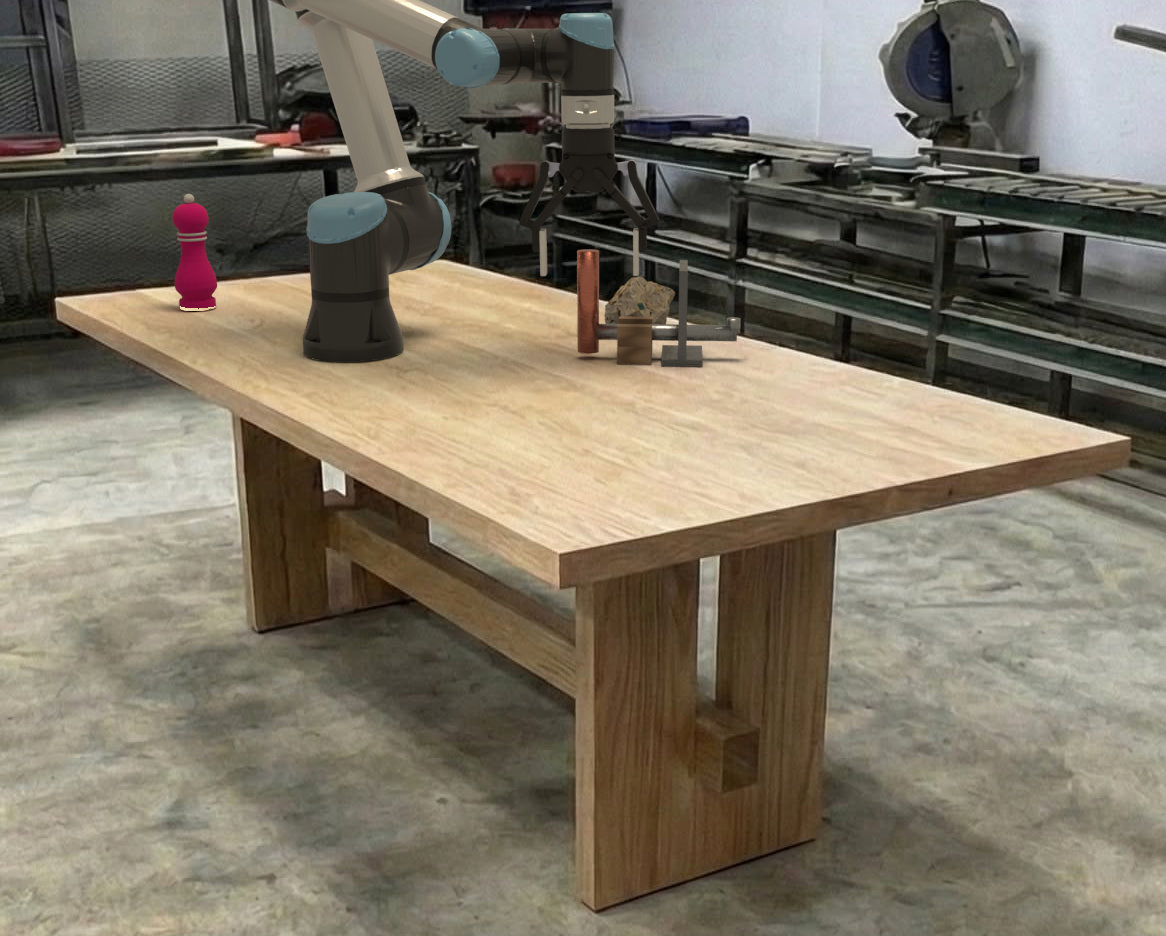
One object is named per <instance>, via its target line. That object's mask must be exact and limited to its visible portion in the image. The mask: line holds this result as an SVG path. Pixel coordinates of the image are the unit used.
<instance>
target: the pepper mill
mask: <svg viewBox="0 0 1166 936" xmlns="http://www.w3.org/2000/svg"><path fill="white" fill-rule="evenodd" d="M183 202H184V203H181V204H179V205H177V206H176V207H175V208H174V210H173V213H172V224H173V225H174V226H175V228H177V230H178V231H177V232H176V235H177V241H178V242H179V246H180V261H179V263H178V264H179V265H178V266H177V270H176V272H175V277H174V289H175V291H176V292H177V293H178V294H179V295H180V296H181V298H180V299H178V303H179V305H178V306H181V307H185V308H198V309H199V308H208V307H214V306H216V307H217V301H216V297H214V296H213V294H214V293H215V292H216V290H217V288H218V280H217V275H216V274H215V271H214V269H213V267H212V265H211V263H210V261H209V259H208V256H207V251H206V240H207V239H208V237H207V231H206V230H205V229H206V227H207V226H208V224H209V214H208V212H207V209H206V208H205V207H204V206H203V205H201V204H199V203H196V202H195V197H194V195H193V194H190V193H187V194H185V195H184V196H183Z"/></svg>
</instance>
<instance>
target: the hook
mask: <svg viewBox="0 0 1166 936" xmlns="http://www.w3.org/2000/svg"><path fill="white" fill-rule="evenodd" d="M576 255H577V256H576V259H577V260H576V265H577V266H576V273H577V274H576V278H577V279H576V286H577V287H576V290H577V291H576V292H577V293H576V295H577V298H576V299H577V301H576V304H577V306H576V307H577V317H576V319H577V324H576V325H577V327H576V328H577V329H576V330H577V353H579V354H586V355H588V354H597V353H599V352H600V341H617V326H618V324H605V323H600V250H598V249H590V248H589V249H578V250H577V251H576ZM678 327H679V324H673V323H672V324H671V323H670V324H667V323H666V324H652V341H659V342H660V341H664V342H665V341H666V342H667V341H669V342H672V341H675V342H677V341H678ZM740 334H741V318H740V317H735V316H732V317H731V316H730V317H727V318H726V324H687V342H737V340H738V335H740Z"/></svg>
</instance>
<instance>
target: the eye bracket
mask: <svg viewBox="0 0 1166 936" xmlns="http://www.w3.org/2000/svg"><path fill="white" fill-rule="evenodd" d="M688 260H689V259H680V260H679V268H678V269H679V273H678V274H679V277H678V278H679V282H678V285H679V286H678V325H679V327H678V342H677V345H676V344H673V345H672V344H662V346H661V347H662V348H661V364H660V365H661V367H667V368H668V367H671V368H673V367H674V368H675V367H676V368H677V367H679V368H682V367H683V368H687V367H688V368H691V367H692V368H703V367H704V366H703V364H704V363H703V361H704V360H703V359H704V358H703V345H691V344H689V345H688V344H687V343H688V341H687V325H688V292H689V291H688V290H689V289H688V288H689V287H688V286H689V285H688V284H689V282H688V281H689V262H688Z"/></svg>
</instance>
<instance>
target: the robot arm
mask: <svg viewBox="0 0 1166 936" xmlns="http://www.w3.org/2000/svg"><path fill="white" fill-rule="evenodd" d="M269 1H270V2H273V3H275V4H277V5H279V6H281V7H284V8H286V9H288V10H290V11H293V12H294V13H295V15H296V19H297V21H298V24H299V25H301V26H303V27H304V28H306V29H308V30H309V31H310V32H311V35H312V36H313V40H314V43H315V46H316V50H317V53H318V56H319V60H320V62H321V66H322V69H323V72H324V76H325V79H326V83H327V86H328V89H329V92H330V93H329V94H330V95H331V99H332V102H333V105H334V108H335V111H336V115H337V118H338V122H339V124H340V128H341V131H342V134H343V137H344V141H345V144H346V147H347V151H348V154H349V158H350V161H351V164H352V167H353V170H354V173H355V177H356V180H357V185H356V187H355V189H354V191H351V192H345V193H342V194H340V193H335V194H331V195H327V196H324V197H321V198H318V199H317V200H315V201H313V203H311V204H310V205H309V207H308V210H307V226H306V230H305V231H306V236H307V245H308V246H307V247H308V249H307V250H308V259H309V261H308V263H309V277H310V291H311V292H310V293H311V306H310V308H309V313H308V316H307V320H306V324H305V329H304V331H303V336H302V354H303V355H304V356H305V357H306V356H307V358H309V357H310V358H309V359H312V358H313V360H316V359H317V361H322V360H323V362H337V363H352V362H353V363H355V362H370V361H377V360H384V359H387V358H392V357H395V356H398V355H399V354H401V353H402V352H403V351H404V337H403V333H402V330H401V328H400V326H399V322H398V320H397V317H396V314H395V311H394V308H393V306H392V304H391V303H392V302H391V300H390V299H391V297H390V277H389V275H394V274H397V273H402V272H405V271H414V270H418V269H420V268H423V267H425V266H427V265H430V264H432V263H434V262H436V261H437V260H438V259H440V257H441V256H442V255H443V254H444V252H446V249H447V246H448V245H449V242H450V240H451V236H452V221H451V214H450V212H449V209H448V207H447V205H446V204H445V203H444V201H443V200H442V199H441V198H438V196H437V195H436V194H435V193H433V192H431V191H429V190H428V186H427V182H426V180H425V177H424V175H423V173H420V172H419V171H417V170H416V169H414V168H413V167H412V166H411V163H410V161H409V158H408V154H407V150H406V147H405V144H404V141H403V138H402V133H401V131H400V127H399V124H398V120H397V118H396V114H395V111H394V107H393V104H392V100H391V97H390V94H389V91H388V87H387V84H386V80H385V78H384V74H383V71H382V67H381V64H380V60H379V57H378V54H377V51H376V48H375V44H374V42H377V43H379V44H381V45H384V46H385V47H388V48H390V49H393V50H395V51H396V52H399V53H401V54H403V55H405V56H408V57H409V58H411V59H414V60H416V61H418V62H421V63H423V64H426V65H427V66H429V67H431V68H434V69H436V70H437V71H438V72H439V74H440V76H441V77H442V78H443V79H444V80H445V81H446V82H447V83H448V84H450V85H452V86H456V87H464V88H467V89H476V88H481V87H486V86H487V87H488V86H497V85H498V86H499V85H501V86H502V85H503V86H504V85H515V84H540V83H541V84H546V83H547V84H548V83H549V84H551V83H552V84H559V83H560V95H561V96H560V99H561V100H560V101H561V108H560V109H561V123H562V124H563V125H565V127H564V128H562V130H561V151H562V152H561V153H562V155H561V156H562V158H561V161H560V162H551V161H549V160H548V159H545V160H543V161H542V162H541V163H540V167H539V169H540V170H539V178H538V180H537V182H536V184H535V186H534V188H533V191H532V193H531V194H530V197H529V198H528V201H527V202H526V203H527V204H526V206H525V208H524V209H523V211H522V214H521V216H520V218H519V220H518V223H519V226H521V227H525V228H527V229H529V230H530V232H531V240H532V241H531V243H532V244H531V246H532V247H531V248H532V252H533V253H539V262H540V263H539V264H540V265H539V267H540V268H539V272H540V273H539V274H540V277H546V276H547V275H548V247H547V243H548V242H547V228H542V226H543V225H544V223H545V222H546V221H547V220H548V218H550V216H551V215H552V213H554V211H555V210H556V209H557V207H558V206H559V205H560V204H561V203H562V201H563V200H565V198H566V196H567V195H568V194H569V193H570V192H571V191H572V190H573V191H574V192H577V194H583V193H588V192H590V193H595V194H598V193H601V192H603V191H604V190H605V192H606V193H608V195H609V196H610V197H612V199H613V200H614V201H615V203H616V204H618V205H619V207H620V208H621V210H622V211H624V213H626V215H627V216H628V217H629V218H630V220H631V221H632V223H634V225H635V226H636V227H637V228H633V230H632V236H633V237H632V247H633V249H632V251H633V253H632V254H633V255H632V257H633V258H632V259H633V261H632V263H633V264H632V265H633V268H632V270H633V271H632V272H633V274H632V275H633V276H634V277H639V275H640V253H643V252H644V253H645V252H646V251H647V247H648V241H647V240H648V239H647V238H648V235H647V234H648V233H647V232H648V229H649V228H652V227H654V226H657V225H658V224H659V222H660V218H659V215H658V213H657V212H656V209H655V208H654V205H653V203H652V201H651V199H650V197H649V195H648V193H647V191H646V189H645V187H644V185H643V183H642V181H641V179H640V177H639V175H638V167H637V161H636V160H635V159H629V160H627V161H621V162H620V161H619V162H617V160H616V155H615V148H616V147H615V129H614V128H613V127H612V126H611V124H613V123H614V122H615V93H614V92H615V91H614V90H615V89H614V67H615V66H614V57H615V56H614V54H615V52H614V50H615V48H616V46H615V42H614V28H613V19H612V17H611V16H610V15H609V14H608V13H605V12H579V13H578V12H576V13H574V12H573V13H563V14H561V16H560V19H559V24H558V27H556V28H555V27H554V28H516V27H515V28H513V27H511V28H508V27H507V28H506V27H505V28H483V27H480V26H477V25H475V24H473V23H470V22H468V21H467V20H464V19H462V18H459V17H458V16H455V15H453V14H451V13H449V12H446V11H444V10H442V9H440V8H437V7H435V6H433V5H432V4H428V3H426V2H424V1H422V0H269ZM618 171H621V173H622V175H623V176H624V177H628V179H629V182H630V184H631V186H632V188H633V189H634V193H635V194H636V196H637V198H638V200H639V202H640V204H641V207H642V208H643V210H644V213H645V214H646V216H647V218H644V217H643V216H642V215H641V214H640V212H639V211H638V210H637V209H636V208H635V206H633V204H632V203H631V202H630V200H629V199H628V198H627V197H626V196H625V195H624V194H623V192H622V191H621V190H620V189H619V187H618V185H616V184H615V182H614V181H613V178H614V177H615V175H616V174H617V172H618ZM557 172H559V173H560V174H561V175H562V177H563V179H564V180H565V181H566V182H565V183H563V185H562V187H561V188H560V189H559V190H558V192H557V193H556V194H555V195H554V197H553V198H552V199H551V200H550V201H549V202H548V204H547V205H546V206H545V207H544V208H543V210H542V211H541V213H540V214H539V215H538V216H537V218H536V219H535V218H531V217H532V215H533V214H534V211H535V209H536V206H537V205H538V203H539V200H540V199H541V197H542V194H543V192H544V190H545V188H546V185H547V183H548V181H549V178H552V177H554V175H555V173H557Z"/></svg>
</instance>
